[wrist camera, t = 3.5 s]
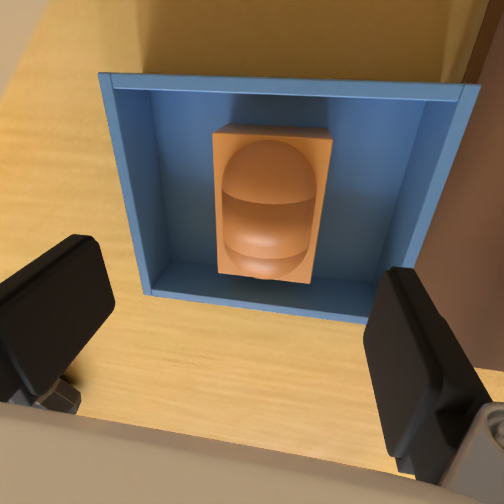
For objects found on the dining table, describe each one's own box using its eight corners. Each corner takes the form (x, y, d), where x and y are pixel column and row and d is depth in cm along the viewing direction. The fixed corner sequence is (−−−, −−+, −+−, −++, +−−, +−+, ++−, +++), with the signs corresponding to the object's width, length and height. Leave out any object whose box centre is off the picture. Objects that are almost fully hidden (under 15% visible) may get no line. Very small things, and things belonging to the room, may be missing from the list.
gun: (100, 448, 30) (-36, 358, 26) (6, 486, 41) (-99, 428, 37) (125, 405, 34) (11, 321, 30) (33, 450, 45) (-59, 395, 41)
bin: (441, 82, 14) (482, 84, 11) (377, 286, 20) (391, 328, 17) (141, 73, 16) (96, 72, 13) (168, 262, 22) (143, 295, 19)
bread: (329, 128, 15) (336, 147, 11) (310, 255, 19) (310, 305, 15) (228, 123, 16) (199, 139, 12) (229, 246, 20) (208, 292, 16)
